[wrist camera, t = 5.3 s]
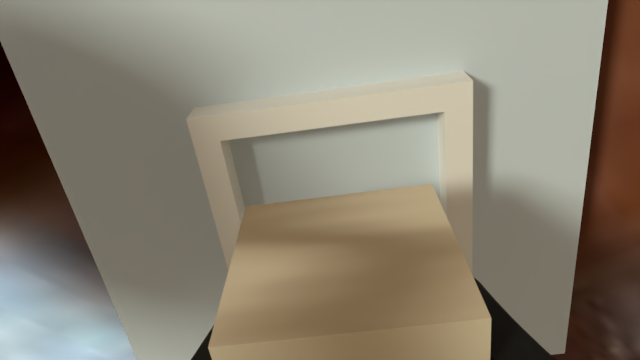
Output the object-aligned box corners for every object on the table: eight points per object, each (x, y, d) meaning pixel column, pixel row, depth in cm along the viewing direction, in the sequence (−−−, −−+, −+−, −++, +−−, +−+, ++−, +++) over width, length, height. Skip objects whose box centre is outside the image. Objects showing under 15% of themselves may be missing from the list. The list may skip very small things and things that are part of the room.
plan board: (160, 371, 22) (144, 415, 20) (-27, -88, 14) (-85, -90, 12) (551, 331, 21) (576, 373, 19) (606, -193, 12) (659, -215, 11)
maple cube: (278, 342, 14) (261, 509, 10) (245, 206, 12) (208, 347, 8) (437, 325, 14) (486, 490, 10) (431, 183, 12) (491, 318, 8)
